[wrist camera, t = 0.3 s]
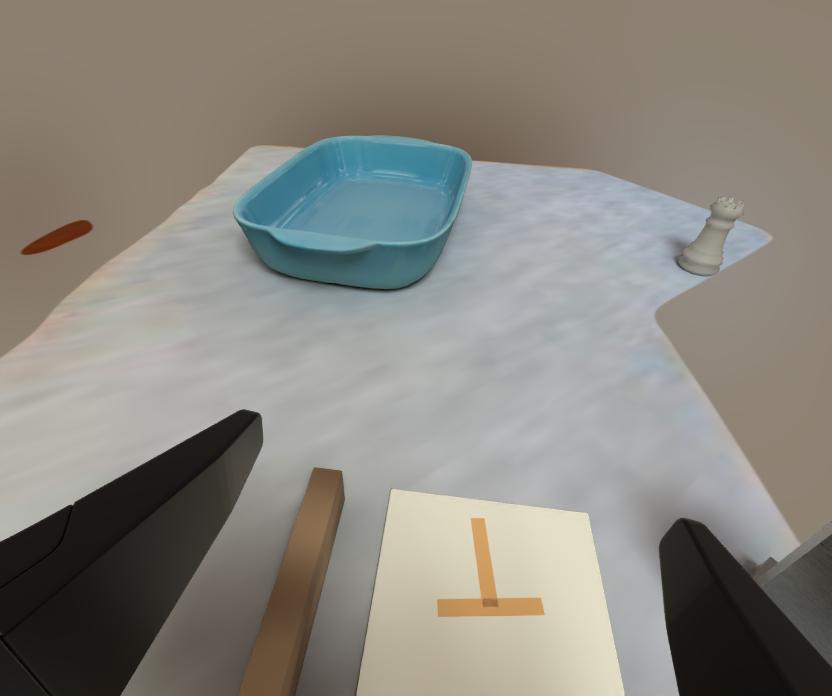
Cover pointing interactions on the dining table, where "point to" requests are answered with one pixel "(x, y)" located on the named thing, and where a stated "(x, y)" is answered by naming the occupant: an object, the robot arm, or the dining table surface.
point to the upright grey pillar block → (804, 588)
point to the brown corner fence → (296, 591)
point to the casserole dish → (357, 210)
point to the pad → (487, 603)
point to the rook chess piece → (711, 239)
